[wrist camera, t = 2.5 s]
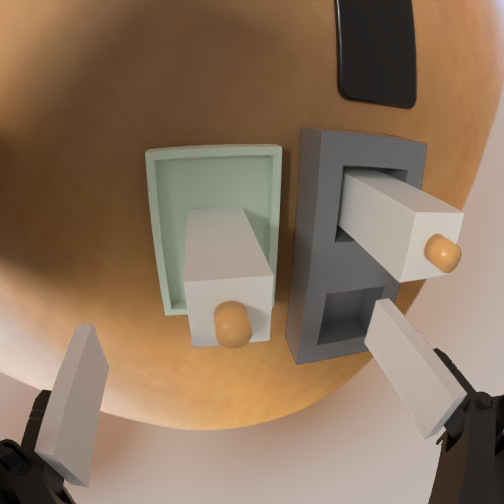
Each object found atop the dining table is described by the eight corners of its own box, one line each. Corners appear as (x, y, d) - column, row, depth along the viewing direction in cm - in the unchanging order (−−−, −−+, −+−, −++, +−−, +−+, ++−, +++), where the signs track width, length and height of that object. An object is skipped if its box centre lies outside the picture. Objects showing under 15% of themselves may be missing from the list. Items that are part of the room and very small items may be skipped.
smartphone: (411, 109, 22) (401, -38, 15) (417, 110, 21) (406, -40, 14) (334, 99, 21) (324, -61, 14) (339, 99, 20) (329, -65, 13)
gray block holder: (285, 336, 30) (326, 440, 19) (300, 126, 21) (404, 152, 10) (362, 324, 32) (419, 409, 21) (397, 136, 23) (514, 173, 12)
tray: (166, 303, 26) (165, 315, 24) (149, 148, 20) (145, 152, 18) (269, 295, 27) (274, 307, 26) (275, 143, 21) (282, 146, 20)
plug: (191, 257, 24) (193, 368, 14) (187, 209, 22) (183, 301, 12) (241, 254, 24) (276, 360, 14) (241, 206, 23) (282, 293, 12)
